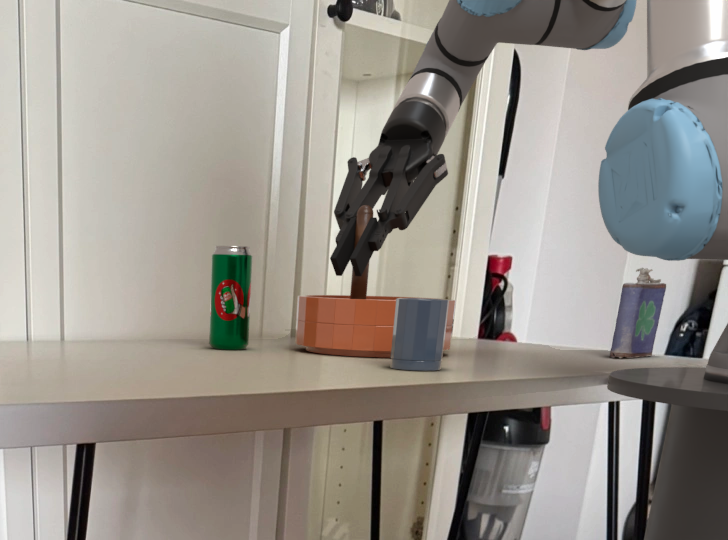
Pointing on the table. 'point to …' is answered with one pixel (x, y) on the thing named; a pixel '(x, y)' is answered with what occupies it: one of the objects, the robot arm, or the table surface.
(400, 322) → the crock
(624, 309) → the flask
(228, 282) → the soda can
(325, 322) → the bowl
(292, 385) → the table surface
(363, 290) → the stirring stick
